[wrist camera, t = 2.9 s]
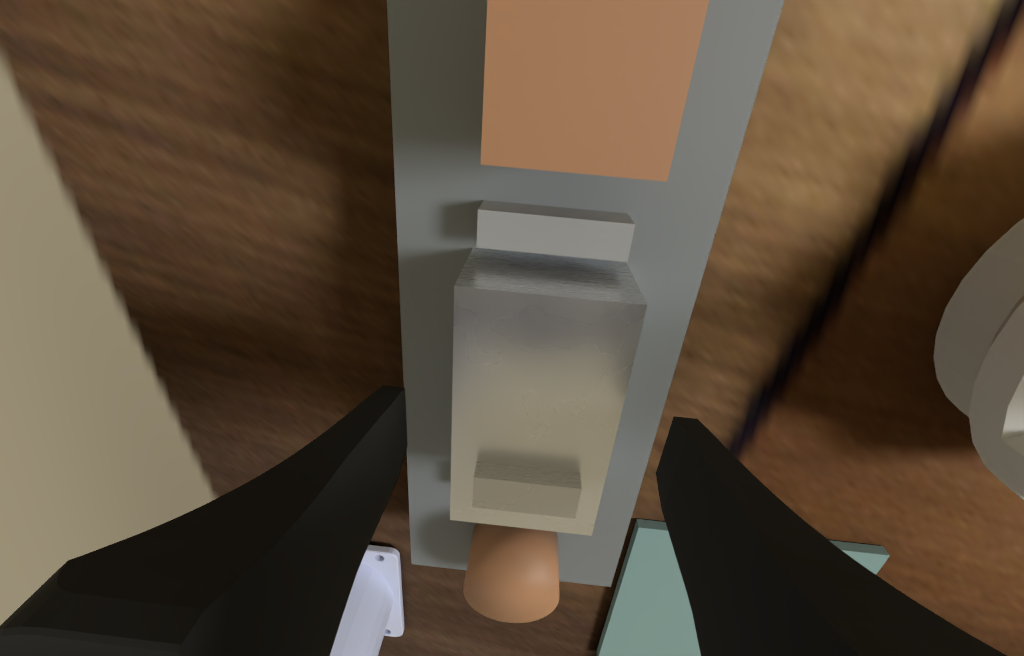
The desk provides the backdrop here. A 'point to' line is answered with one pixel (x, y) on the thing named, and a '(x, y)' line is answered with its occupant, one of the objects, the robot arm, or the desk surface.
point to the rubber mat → (669, 596)
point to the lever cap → (538, 386)
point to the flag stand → (989, 356)
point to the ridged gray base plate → (557, 220)
